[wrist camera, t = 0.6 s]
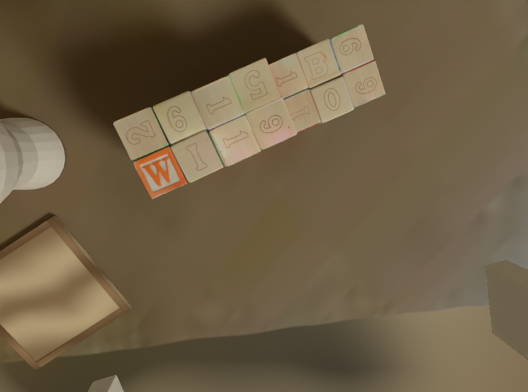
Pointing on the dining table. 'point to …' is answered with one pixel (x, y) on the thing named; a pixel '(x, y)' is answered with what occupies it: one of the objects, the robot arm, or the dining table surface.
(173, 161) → the stack of blocks
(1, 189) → the cup
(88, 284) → the picture frame
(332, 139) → the dining table surface
